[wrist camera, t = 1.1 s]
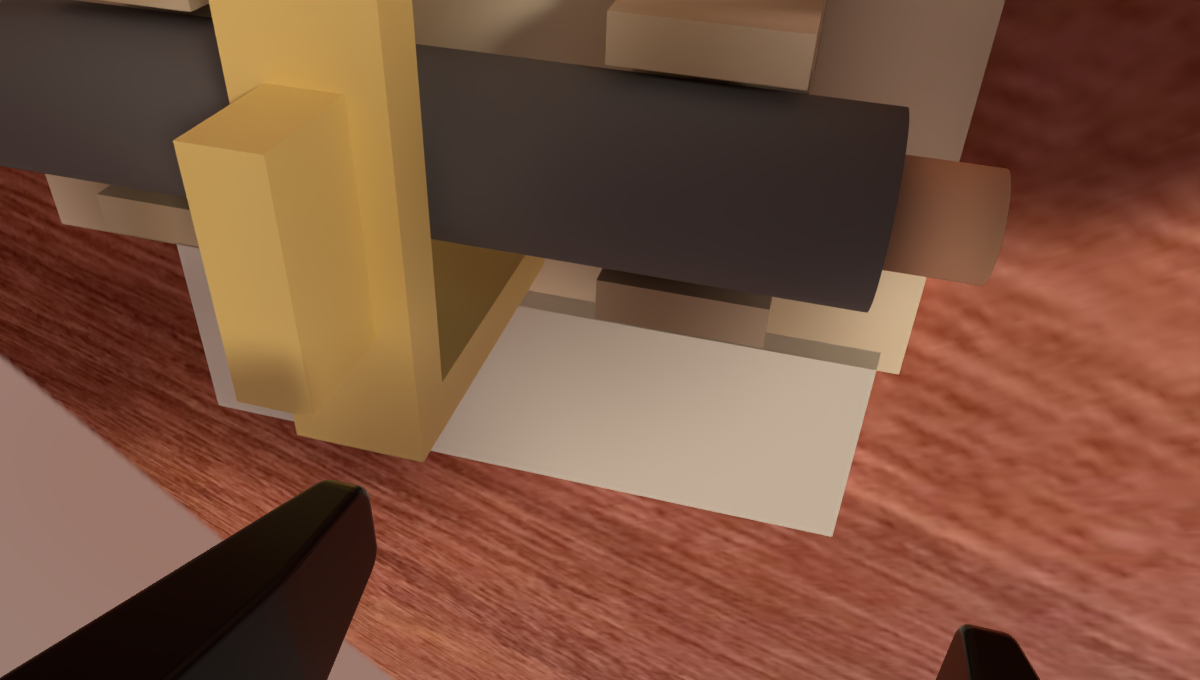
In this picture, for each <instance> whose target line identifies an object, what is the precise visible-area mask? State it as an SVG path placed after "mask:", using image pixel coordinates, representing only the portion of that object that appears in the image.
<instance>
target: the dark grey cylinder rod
mask: <svg viewBox="0 0 1200 680" xmlns="http://www.w3.org/2000/svg"><path fill="white" fill-rule="evenodd" d="M416 57H417V69H418V82H419V95H420V107H421V120H422V133H423V145H424V158H425V171H426V183H427V196H428V209H429V221H430V234H431V239H434V240H440V241H446V242H452V243H458V244H463V245H469V246H475V247H481V248H487V249H493V250H499V251H505V252H511V253H517V254H523V255H528V256H534V257H540V258H546V259H552V260H558V261H564V262H570V263H576V264H582V265H587V266H593V267H599V268H605V269H611V270H617V271H623V272H629V273H635V274H641V275H647V276H652V277H658V278H664V279H670V280H676V281H682V282H688V283H694V284H700V285H706V286H712V287H717V288H723V289H729V290H735V291H741V292H747V293H753V294H759V295H765V296H771V297H776V298H782V299H788V300H794V301H800V302H806V303H812V304H818V305H824V306H830V307H836V308H841V309H847V310H853V311H859V312H865V313H867V312H868V311H869V309H870V307H871V305H872V303H873V300H874V297H875V294H876V291H877V287H878V284H879V281H880V277H881V273H882V270H885V271H891V272H898V273H904V274H910V275H916V276H923V277H929V278H935V279H941V280H948V281H954V282H960V283H966V284H972V285H979V286H983V285H984V284H985V283H986V282H987V280H988V278H989V277H990V275H991V273H992V270H993V268H994V265H995V263H996V260H997V257H998V254H999V251H1000V248H1001V244H1002V240H1003V236H1004V232H1005V228H1006V223H1007V218H1008V212H1009V205H1010V196H1011V175H1010V171H1009V170H1008V169H1007V168H1000V167H993V166H985V165H978V164H971V163H964V162H956V161H949V160H942V159H935V158H927V157H920V156H913V155H906V148H907V140H908V131H909V108H908V107H904V106H896V105H889V104H881V103H873V102H865V101H857V100H850V99H842V98H834V97H826V96H818V95H811V94H803V93H795V92H787V91H779V90H772V89H764V88H756V87H748V86H741V85H733V84H725V83H717V82H709V81H702V80H694V79H686V78H678V77H670V76H663V75H655V74H647V73H639V72H631V71H624V70H616V69H608V68H600V67H592V66H585V65H577V64H569V63H561V62H553V61H546V60H538V59H530V58H522V57H514V56H507V55H499V54H491V53H483V52H475V51H468V50H460V49H452V48H444V47H436V46H429V45H421V44H416ZM228 105H230V103H229V98H228V93H227V88H226V84H225V79H224V74H223V69H222V64H221V59H220V54H219V49H218V44H217V39H216V34H215V30H214V25H213V20H212V18H210V17H202V16H195V15H187V14H179V13H171V12H163V11H156V10H148V9H140V8H132V7H124V6H117V5H109V4H101V3H93V2H85V1H78V0H0V166H3V167H9V168H15V169H20V170H26V171H32V172H38V173H44V174H50V175H56V176H62V177H68V178H74V179H80V180H85V181H91V182H97V183H103V184H109V185H115V186H121V187H127V188H133V189H139V190H144V191H150V192H156V193H162V194H168V195H174V196H180V197H186V198H187V196H186V192H185V188H184V184H183V180H182V176H181V172H180V168H179V164H178V160H177V156H176V152H175V147H174V143H173V140H175V139H176V138H178V137H180V136H181V135H183V134H184V133H186V132H187V131H189V130H191V129H192V128H194V127H195V126H197V125H198V124H200V123H202V122H203V121H205V120H206V119H208V118H209V117H211V116H213V115H214V114H216V113H217V112H219V111H220V110H222V109H224V108H225V107H227V106H228Z"/></svg>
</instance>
